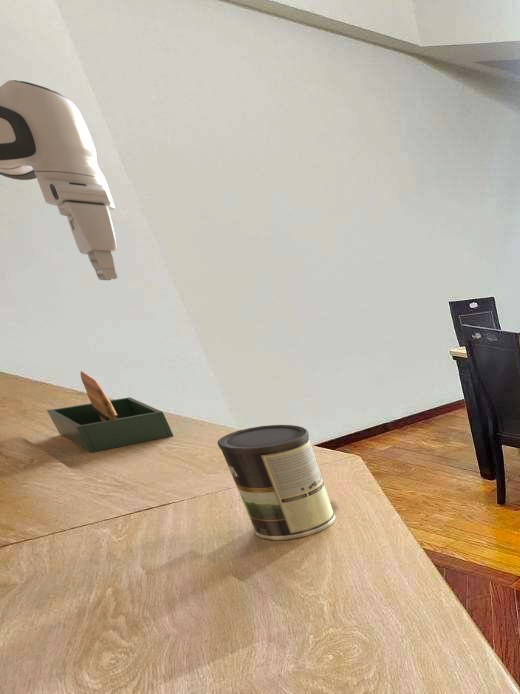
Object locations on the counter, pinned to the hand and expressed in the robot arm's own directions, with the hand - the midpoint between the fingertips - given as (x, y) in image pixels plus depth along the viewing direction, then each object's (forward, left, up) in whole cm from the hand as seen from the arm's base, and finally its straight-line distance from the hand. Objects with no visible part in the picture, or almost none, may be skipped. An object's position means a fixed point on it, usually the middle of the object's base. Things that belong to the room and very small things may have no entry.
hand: (108, 279), depth 111 cm
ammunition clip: (-9, 0, -28) cm, 30 cm away
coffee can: (-8, -68, -28) cm, 74 cm away
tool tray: (-9, 0, -28) cm, 30 cm away
